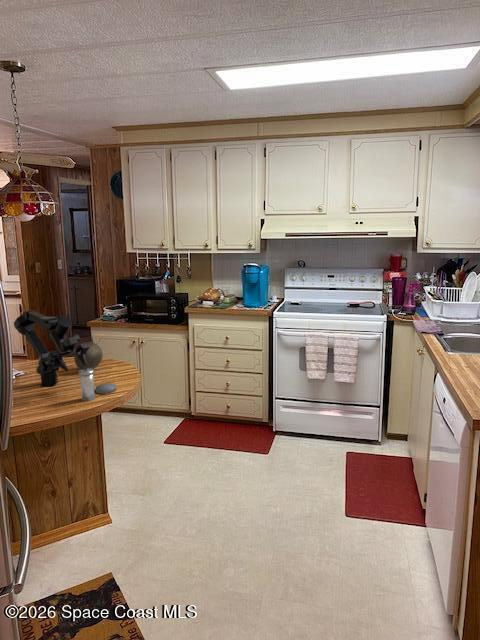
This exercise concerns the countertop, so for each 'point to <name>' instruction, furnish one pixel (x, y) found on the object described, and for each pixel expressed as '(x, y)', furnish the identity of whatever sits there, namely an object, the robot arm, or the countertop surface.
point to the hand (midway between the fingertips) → (77, 368)
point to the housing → (87, 384)
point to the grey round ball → (90, 357)
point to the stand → (105, 388)
